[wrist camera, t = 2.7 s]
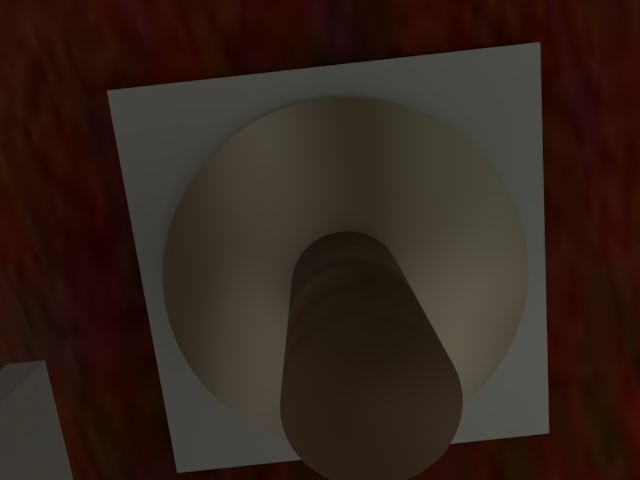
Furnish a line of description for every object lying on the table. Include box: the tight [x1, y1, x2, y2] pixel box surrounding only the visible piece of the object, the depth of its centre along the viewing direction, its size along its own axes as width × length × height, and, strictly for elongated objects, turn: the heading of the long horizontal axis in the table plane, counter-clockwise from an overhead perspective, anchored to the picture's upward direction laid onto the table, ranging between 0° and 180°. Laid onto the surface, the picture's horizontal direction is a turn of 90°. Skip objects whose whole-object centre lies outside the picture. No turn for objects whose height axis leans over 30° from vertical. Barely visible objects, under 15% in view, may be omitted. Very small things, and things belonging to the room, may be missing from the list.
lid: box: [163, 97, 529, 480], centre depth 16 cm, size 12×12×9 cm
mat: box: [107, 42, 549, 473], centre depth 21 cm, size 14×14×1 cm
